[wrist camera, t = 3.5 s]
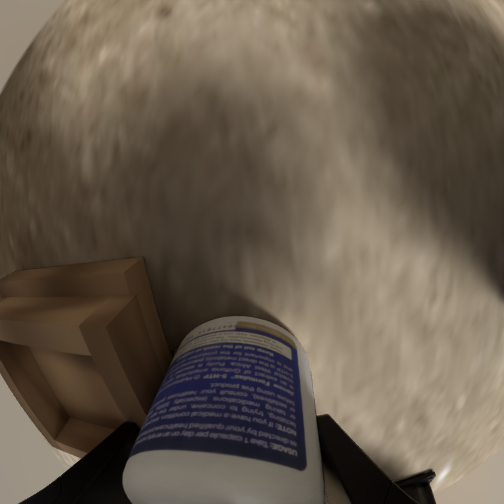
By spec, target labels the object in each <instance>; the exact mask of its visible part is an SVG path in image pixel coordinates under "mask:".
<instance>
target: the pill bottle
mask: <svg viewBox="0 0 504 504" xmlns="http://www.w3.org/2000/svg"><path fill="white" fill-rule="evenodd" d="M122 483H123V487H124V491H125V493H126V495H127V497H128V498H129V500H130V501H131V502H132V504H325V479H324V471H323V463H322V455H321V447H320V440H319V433H318V427H317V422H316V408H315V399H314V393H313V383H312V375H311V369H310V364H309V360H308V357H307V354H306V352H305V350H304V348H303V347H302V345H301V344H300V343H299V341H298V340H297V339H296V338H295V337H294V336H293V335H292V334H290V333H289V332H288V331H286V330H285V329H283V328H281V327H280V326H278V325H276V324H274V323H271V322H269V321H266V320H262V319H258V318H254V317H246V316H229V317H222V318H217V319H214V320H211V321H208V322H205V323H203V324H201V325H199V326H198V327H196V328H195V329H193V330H192V331H191V332H190V333H189V334H188V335H187V336H186V337H185V338H184V339H183V341H182V342H181V344H180V346H179V348H178V350H177V352H176V354H175V356H174V358H173V360H172V362H171V365H170V367H169V369H168V371H167V373H166V375H165V377H164V380H163V382H162V384H161V386H160V388H159V391H158V393H157V395H156V397H155V399H154V402H153V404H152V406H151V408H150V410H149V413H148V415H147V417H146V419H145V422H144V424H143V426H142V428H141V430H140V433H139V435H138V437H137V439H136V442H135V444H134V446H133V448H132V451H131V453H130V455H129V458H128V461H127V463H126V466H125V469H124V472H123V482H122Z"/></svg>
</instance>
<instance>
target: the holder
mask: <svg viewBox="0 0 504 504" xmlns="http://www.w3.org/2000/svg"><path fill="white" fill-rule="evenodd" d="M0 296H1V297H0V373H1V375H2V377H3V378H4V380H5V382H6V383H7V385H8V387H9V388H10V390H11V391H12V393H13V395H14V396H15V397H16V399H17V400H18V402H19V404H20V405H21V407H22V408H23V409H24V411H25V412H26V414H27V415H28V416H29V418H30V419H31V420H32V422H33V423H34V424H35V426H36V427H37V428H38V430H39V431H40V432H41V433H42V435H43V436H44V437H45V438H46V439H47V441H48V442H49V443H50V444H51V445H52V446H53V447H55V448H57V449H59V450H62V451H64V452H67V453H69V454H72V455H74V456H77V457H79V458H83V457H84V456H85V455H86V454H87V453H89V452H90V451H91V450H92V449H93V448H95V447H96V446H97V445H98V444H99V443H100V442H102V441H103V440H104V439H105V438H106V437H107V436H108V435H110V434H111V433H112V432H113V431H114V430H115V429H116V428H118V427H119V426H120V425H121V424H122V423H123V422H126V421H128V422H135V423H136V424H137V426H138V427H139V429H140V430H141V428H142V426H143V424H144V422H145V419H146V417H147V415H148V413H149V410H150V408H151V406H152V404H153V402H154V399H155V397H156V395H157V393H158V391H159V388H160V386H161V384H162V382H163V380H164V377H165V375H166V373H167V371H168V369H169V367H170V365H171V362H172V357H171V354H170V351H169V348H168V345H167V342H166V339H165V335H164V332H163V329H162V326H161V322H160V319H159V316H158V312H157V309H156V305H155V302H154V298H153V294H152V290H151V287H150V283H149V279H148V275H147V271H146V267H145V263H144V258H143V257H137V258H128V259H119V260H110V261H101V262H92V263H83V264H74V265H65V266H56V267H47V268H39V269H30V270H21V271H15V272H13V273H11V274H10V275H8V276H6V277H4V278H2V279H1V280H0Z"/></svg>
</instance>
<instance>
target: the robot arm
mask: <svg viewBox="0 0 504 504" xmlns="http://www.w3.org/2000/svg"><path fill="white" fill-rule="evenodd" d="M316 422H317V427H318V433H319V440H320V447H321V455H322V463H323V471H324V479H325V490H326V494H327V497H328V500H329V504H436V502H435V499H434V495H433V492H432V489H431V486H430V482H431V481H432V480H433V479H434V477H435V476H436V474H435V472H434V471H433V472H430V473H427V474H424V475H422V476H419V477H416V478H413V479H410V480H407V481H403V482H400V483H397V484H395V483H394V482H392V480H391V479H390V478H389V477H388V476H387V475H386V474H385V473H384V472H383V471H382V470H381V469H380V468H379V467H378V466H377V465H376V464H375V463H374V462H373V461H372V460H371V459H370V458H369V457H368V456H367V455H366V454H365V453H364V452H363V451H362V449H361V448H360V447H359V446H358V445H357V444H356V443H355V442H354V441H353V440H352V439H351V438H350V437H349V436H348V435H347V434H346V433H345V432H344V430H343V429H342V428H341V427H340V426H339V425H338V424H337V423H336V422H335V421H334V420H333V419H332V418H331V416H330V415H328V414H324V415H318V416H316ZM139 433H140V429H139V427H138V426H137V424H136V423H135V422H128V421H126V422H123V423H122V424H121V425H120V426H119V427H118V428H116V429H115V430H114V431H113V432H112V433H111V434H110V435H108V436H107V437H106V438H105V439H104V440H103V441H102V442H100V443H99V444H98V445H97V446H96V447H95V448H93V449H92V450H91V451H90V452H89V453H87V454H86V455H85V456H84V457H83V458H82V459H80V460H79V461H78V462H77V463H76V464H74V465H73V466H72V467H71V468H69V469H68V470H67V471H66V472H65V473H63V474H62V475H61V476H60V477H58V478H57V479H56V480H55V481H53V482H52V483H51V484H49V485H48V486H47V487H45V488H44V489H42V490H41V491H39V492H37V493H36V494H34V495H33V496H31V497H29V498H27V499H26V500H24V501H22V502H20V503H19V504H132V502H131V501H130V500H129V498H128V497H127V495H126V493H125V491H124V487H123V483H122V482H123V472H124V469H125V466H126V463H127V461H128V458H129V455H130V453H131V451H132V448H133V446H134V444H135V442H136V439H137V437H138V435H139Z"/></svg>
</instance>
